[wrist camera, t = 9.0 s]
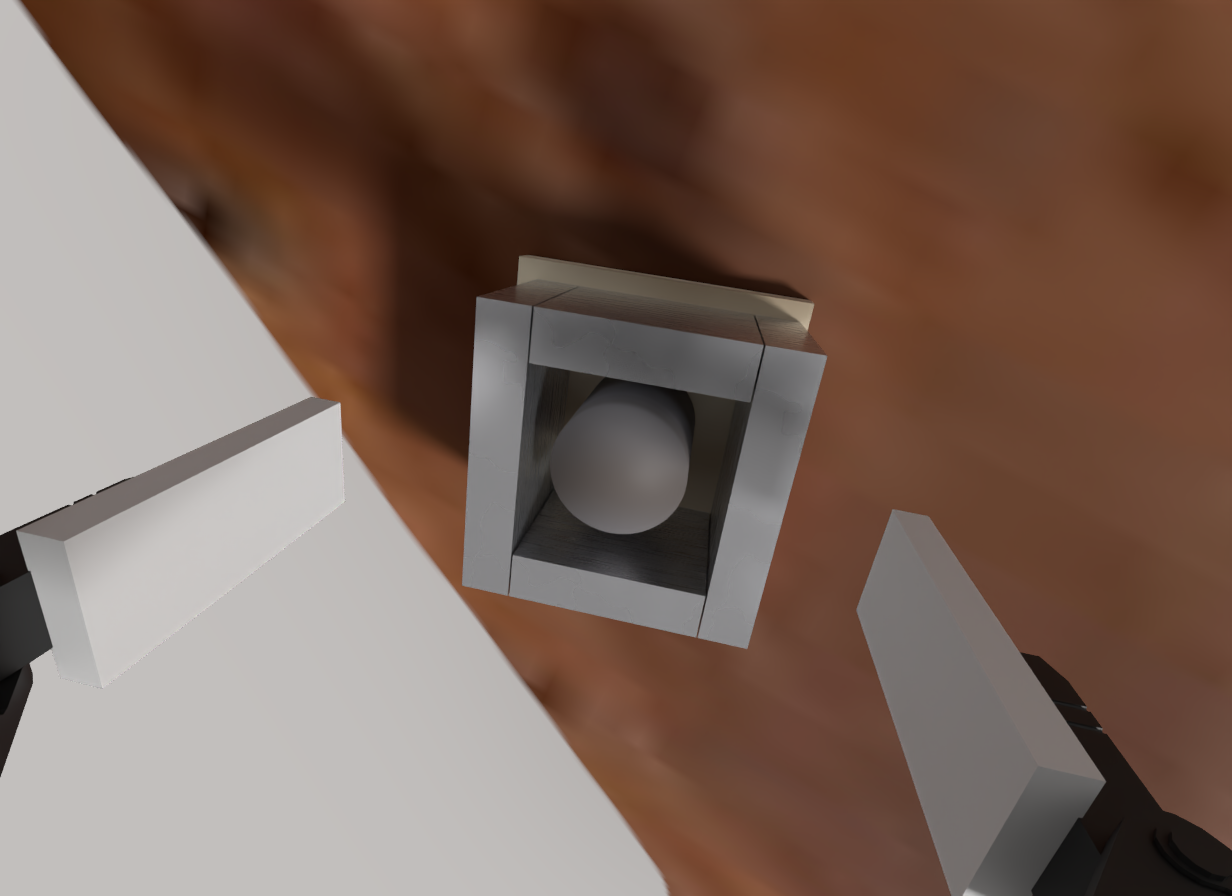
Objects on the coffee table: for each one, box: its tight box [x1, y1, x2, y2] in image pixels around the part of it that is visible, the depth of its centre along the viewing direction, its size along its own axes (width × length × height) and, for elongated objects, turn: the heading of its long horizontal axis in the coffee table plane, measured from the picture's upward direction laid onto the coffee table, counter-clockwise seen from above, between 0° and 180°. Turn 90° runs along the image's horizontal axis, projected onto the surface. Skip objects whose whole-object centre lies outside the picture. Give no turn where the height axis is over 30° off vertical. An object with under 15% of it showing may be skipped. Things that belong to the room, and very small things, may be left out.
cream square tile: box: [517, 255, 814, 534], centre depth 20 cm, size 10×10×6 cm
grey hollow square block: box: [462, 279, 827, 649], centre depth 19 cm, size 9×9×6 cm
